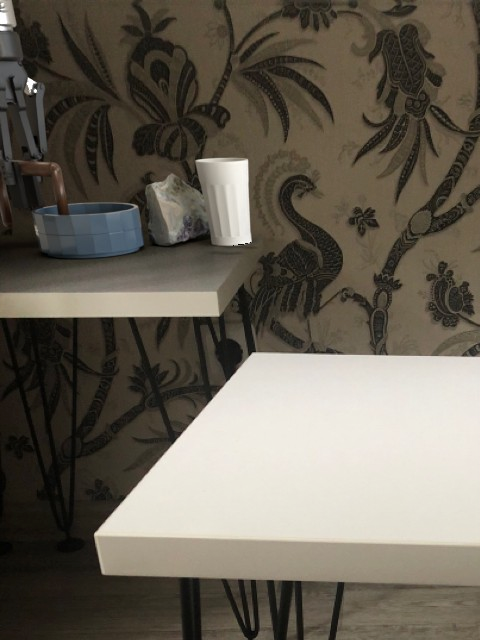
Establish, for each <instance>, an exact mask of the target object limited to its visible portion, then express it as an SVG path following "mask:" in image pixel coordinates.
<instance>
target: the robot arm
mask: <svg viewBox="0 0 480 640" xmlns="http://www.w3.org/2000/svg"><path fill="white" fill-rule="evenodd" d="M16 27H17V20H16V15H15V10H14V5H13V1H12V0H0V170H1V174H2V178H3V182H4V184H5V185H6V186H7V187H8V190H9V191H8V192H9V195H10V199H11V203H12V208H15V209H29V207H38V208H42V207H44V203H43V199H42V193H41V189H40V183H42V176H30V175H21V172H20V168H19V163H18V162H15V161H12V160H14V159H13V151H12V144H11V137H10V129H9V123H8V115H7V111H8V113H9V116H10V117H9V118H10V120H11V124H12V127H13V130H14V134H15V137H16V140H17V143H18V147H19V150H20V154H21V156H22V158H23V159H19V160H20V161H37V162H39V161H40V160H41V159H42V157H43V155H47V153H48V141H47V134H46V133H47V131H46V120H45V111H44V110H45V109H44V96H45V91H46V86H45V84H44V83H43V82H36V81H35V80H33V79H31V78H30V77H29V76H28V72H27V71H26V70H25V68H24V65H23V64H24V63H23V61H24V54H23V47H22V43H21V39H20V35H19V34H18V32H17V31H14V28H16ZM24 94H25V95H24Z"/></svg>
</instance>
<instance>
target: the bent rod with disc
mask: <svg viewBox="0 0 480 640" xmlns="http://www.w3.org/2000/svg"><path fill="white" fill-rule="evenodd" d="M20 160H21V159H16V160H15V159H12V161H15V162H18V163H19V168H20V172H21V176H22V175H30V176H41V177H47V178H50V179H51V184H52V190H53V194H54V200H55V206H56V205H57V210H58V215H70V214H69V209H68V204H69V202H68V198H67V194H66V193H67V192H66V189H65V184H64V183H65V182H64V178H63V177H64V176H63V172H62V168H61V167H60V165H59V164H58V163H57V162H53V161H38V162H37V161H20ZM0 216H1V221H2V224H3V226H4V227H6V228H8V229H10V228H12V227H14V225H15V221H14V218H13V217H14V216H13V213H12V207H11V204H10V198H9V194H8V190H7V185H5V184H4V182H3V178H2V174H1V170H0Z"/></svg>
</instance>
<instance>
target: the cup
mask: <svg viewBox="0 0 480 640" xmlns="http://www.w3.org/2000/svg"><path fill="white" fill-rule="evenodd" d="M194 162H195V167H196V172H197V176H198V180H199V184H200V187H201V192H202V193H201V194H202V195H203V198H204V203H205V208H206V213H207V218H208V223H209V227H210V229H209V232H210V241H211V245H213V246H221V247H222V246H223V247H224V246H226V247H232V246H233V245H234V246H239V245H238V244H244V245H246V244H245V243H248V244H251V243H252V240H253V239H252V232H251V216H250V215H251V214H250V196H249V195H250V191H249V179H250V178H249V158H243V157H213V158H211V157H210V158H202V159H196V160H194ZM250 242H251V243H250ZM234 246H233V247H234Z"/></svg>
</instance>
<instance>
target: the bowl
mask: <svg viewBox="0 0 480 640" xmlns="http://www.w3.org/2000/svg"><path fill="white" fill-rule="evenodd" d="M68 209H69V214H70V215H58V210H57V205H56V204H55V205H50V206H42V207H38V208H36V209H33V210H32V211H31V216H32V221H33V227H34V231H35V235H36V240H37V243H38V248H39V251H40V252H42V253H45V254H46V255H47V256H48V257H52V258H59V259H95V258H109V257H116V256H122V255H126V254H131V253H134V252H137V251H139V250H140V249H141V247H143V246H144V245H145V238H144V232H143V226H142V221H141V220H142V219H141V214H140V208H139V206H138V205H137V204H135V203H126V202H80V203H78V202H77V203H68Z"/></svg>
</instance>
